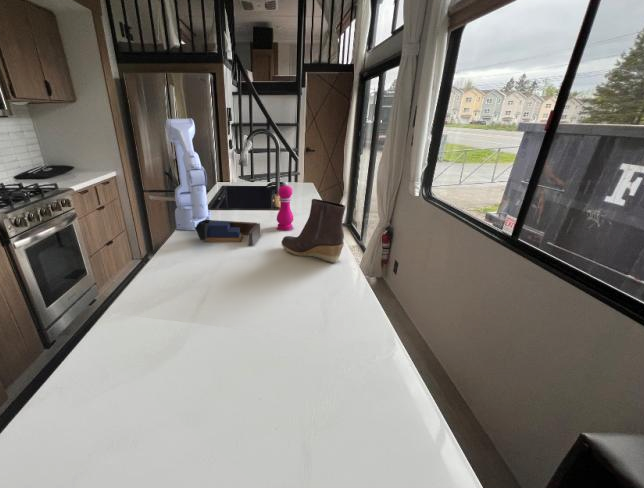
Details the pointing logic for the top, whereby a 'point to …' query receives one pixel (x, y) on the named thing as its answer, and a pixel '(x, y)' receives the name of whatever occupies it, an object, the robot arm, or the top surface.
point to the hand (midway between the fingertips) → (203, 239)
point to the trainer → (223, 232)
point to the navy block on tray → (247, 230)
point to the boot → (320, 232)
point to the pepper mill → (285, 208)
